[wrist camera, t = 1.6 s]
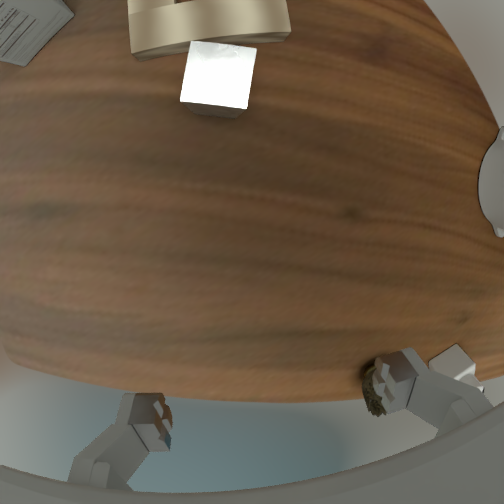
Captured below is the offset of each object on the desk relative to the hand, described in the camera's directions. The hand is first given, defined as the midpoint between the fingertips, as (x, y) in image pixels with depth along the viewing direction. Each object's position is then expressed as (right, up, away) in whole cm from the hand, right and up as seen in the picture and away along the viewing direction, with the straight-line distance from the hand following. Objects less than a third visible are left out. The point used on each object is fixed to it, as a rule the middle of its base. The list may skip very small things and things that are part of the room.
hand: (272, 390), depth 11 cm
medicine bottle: (+37, -17, +40) cm, 57 cm away
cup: (+20, -15, +37) cm, 45 cm away
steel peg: (-4, +22, +20) cm, 30 cm away
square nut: (-6, +35, +15) cm, 38 cm away
